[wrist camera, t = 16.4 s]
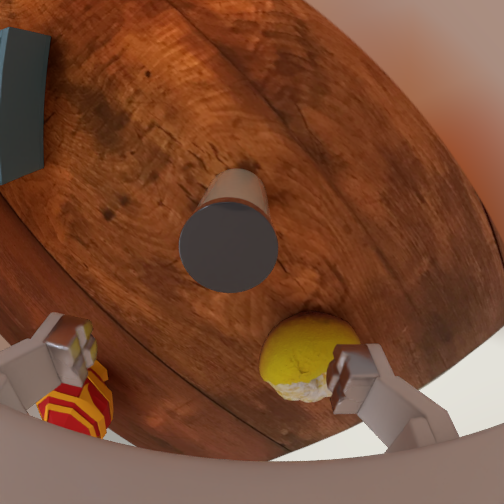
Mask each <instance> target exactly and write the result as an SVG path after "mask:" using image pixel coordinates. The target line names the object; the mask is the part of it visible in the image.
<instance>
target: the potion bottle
mask: <svg viewBox="0 0 504 504" xmlns="http://www.w3.org/2000/svg"><path fill="white" fill-rule="evenodd" d="M87 370H88V376H87V379H86V381H85V383H84V385H83V387H82V388H81V387H77V386H73V385H69V384H65V383H61V385H59V386H58V387H57V388H55V389H54V390H53V391H51V392H50V393H48V394H47V395H46V396H44V397H43V398H42V399H40V400H39V401H38V402H37V403H36V405H37V408H38V410H39V413H40V416H41V418H42V420H43V421H46V422H49V423H52V424H54V425H57V426H60V427H63V428H66V429H69V430H73V431H76V432H79V433H83V434H86V435H89V436H93V437H97V438H100V439H103V437H104V436H105V434H106V433H107V432H106V429H107V428H108V426H109V425H110V423H111V421H112V418H113V399H112V391H110V390H109V389H108V388H107V387H106V384H105V383H104V381H106V380H108V374H107V369H106V368H105V367H103V366H102V365H101V364H100V363H99V362H98V361H97V360H95V362H94V364H93V365H92V366H91V367H89V368H87Z"/></svg>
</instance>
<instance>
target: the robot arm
mask: <svg viewBox="0 0 504 504" xmlns="http://www.w3.org/2000/svg"><path fill="white" fill-rule="evenodd" d="M92 331H93V326H92V322H91V321H90V320H88V319H84V318H79V317H75V316H70V315H66V314H65V315H64V314H60V313H56V312H53V313H50V315H49V316H48V317H47V318H46V320H45V321H44V322H43V324H42V325H41V326H40V327H39V329H38V330H37V331H36V333H35V334H34V335H33V337H32V338H31V339H25V340H23V341H21V342H19V343H17V344H15V345H13V346H11V347H9V348H6V349H4V350H2V351H0V504H504V423H502V424H500V425H497V426H494V427H491V428H488V429H485V430H482V431H479V432H476V433H473V434H469V435H466V436H462V437H459V435H458V433H457V431H456V429H455V427H454V425H453V422H452V420H451V418H450V416H449V414H448V412H447V411H446V410H445V409H443V408H442V407H441V406H439V405H438V404H436V403H435V402H434V401H432V400H431V399H429V398H428V397H427V396H425V395H424V394H423V393H421V392H420V391H418V390H417V389H416V388H414V387H413V386H411V385H410V384H409V383H407V382H406V381H405V380H403V379H402V378H400V377H399V376H394V373H393V371H392V369H391V367H390V365H389V362H388V360H387V358H386V356H385V354H384V352H383V350H382V347H381V345H379V344H337V345H336V346H335V348H334V350H333V356H334V359H333V360H332V361H331V362H329V365H328V368H327V374H326V383H327V388H328V390H330V391H331V392H332V395H331V398H330V401H331V405H332V409H333V414H356V413H358V414H357V415H358V416H359V417H360V418H361V419H362V420H363V422H364V423H365V424H366V425H367V426H368V427H369V428H370V429H371V430H372V431H373V432H374V433H375V434H376V435H377V436H378V438H379V439H380V440H381V441H382V442H383V443H384V444H385V445H386V446H387V447H388V449H387V450H386V452H385V453H384V454H378V455H371V456H364V457H355V458H344V459H333V460H317V461H287V462H285V461H283V462H282V461H280V462H279V461H277V462H274V461H241V460H225V459H214V458H203V457H195V456H187V455H179V454H173V453H166V452H160V451H155V450H149V449H144V448H139V447H134V446H129V445H125V444H120V443H116V442H112V441H108V440H104V439H100V438H97V437H93V436H89V435H86V434H83V433H79V432H76V431H73V430H69V429H66V428H63V427H60V426H57V425H54V424H52V423H49V422H46V421H43V420H40V419H38V418H35V417H33V416H30V415H29V414H28V412H27V411H26V410H27V409H29V408H30V407H31V406H33V405H34V404H35V403H37V402H38V401H39V400H40V399H42V398H43V397H44V396H46V395H47V394H48V393H50V392H51V391H53V390H54V389H55V388H57V387H58V386H59V385H61V383H65V384H69V385H73V386H77V387H81V388H82V387H83V385H84V383H85V381H86V379H87V376H88V370H87V368H89V367H91V366H92V365H93V364H94V362H95V360H96V356H97V342H96V339H95V338H94V337H93V336H92V334H91V333H92Z"/></svg>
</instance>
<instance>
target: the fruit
mask: <svg viewBox="0 0 504 504" xmlns="http://www.w3.org/2000/svg"><path fill="white" fill-rule="evenodd" d="M337 344H360V340H359V338H358V336H357V334H356V332H355V331H354V329H353V328H352V327H351V325H350V324H349V323H348V322H347V321H344V320H343V319H342V318H341V319H340V318H337V317H336V316H335V317H334V316H332V315H330V314H324V313H321V312H317V311H308V312H300V313H298V314H296V315H294V316H291V317H289V318H287V319H285V320H283V321H282V322H281V323H279V324H278V325H277V326H276V327H274V329H273V330H272V331H271V332H270V334H269V335H268V337H267V339H266V340H265V342H264V344H263V346H262V349H261V353H260V358H259V371H260V375H261V377H262V378H263V380H264V381H266V382H268V383H269V384H270V385H271V386H272V387H273V388H274V389H275V390H276V391H277V392H278V394H279V395H280V396H282V397H283V398H284V399H287V400H293V401H294V400H302V401H304V402H316V401H319V400H321V399H322V398H324V397H331V395H332V392H331V391H330V390H328V388H327V383H326V374H327V368H328V365H329V362H331V361H332V360H333V359H334V356H333V350H334V348H335V346H336V345H337Z"/></svg>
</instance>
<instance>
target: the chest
mask: <svg viewBox="0 0 504 504" xmlns="http://www.w3.org/2000/svg"><path fill="white" fill-rule="evenodd" d="M50 41H51V36H48V35H44V34H40V33H35V32H31V31H27V30H22V29H17V28H12V27H7V28H5V29H2V30H0V185H3V184H6V183H8V182H10V181H13V180H15V179H17V178H20V177H22V176H24V175H27V174H29V173H32V172H34V171H37V170H39V169H42V168H44V153H43V123H44V98H45V84H46V73H47V63H48V55H49V48H50Z"/></svg>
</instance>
